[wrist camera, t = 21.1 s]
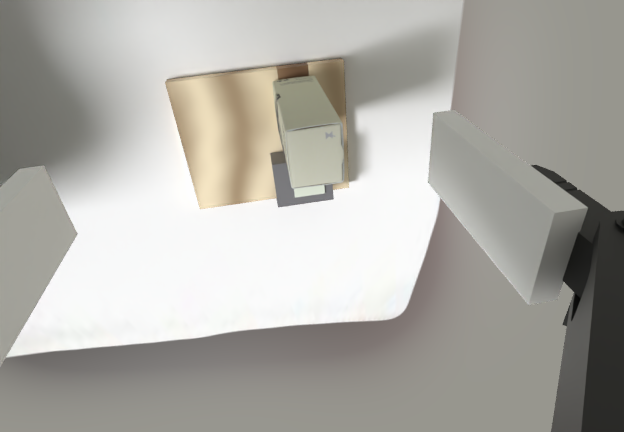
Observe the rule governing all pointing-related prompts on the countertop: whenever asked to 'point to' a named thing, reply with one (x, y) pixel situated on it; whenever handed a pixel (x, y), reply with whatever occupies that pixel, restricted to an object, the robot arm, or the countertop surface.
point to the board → (242, 128)
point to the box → (309, 132)
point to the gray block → (298, 195)
